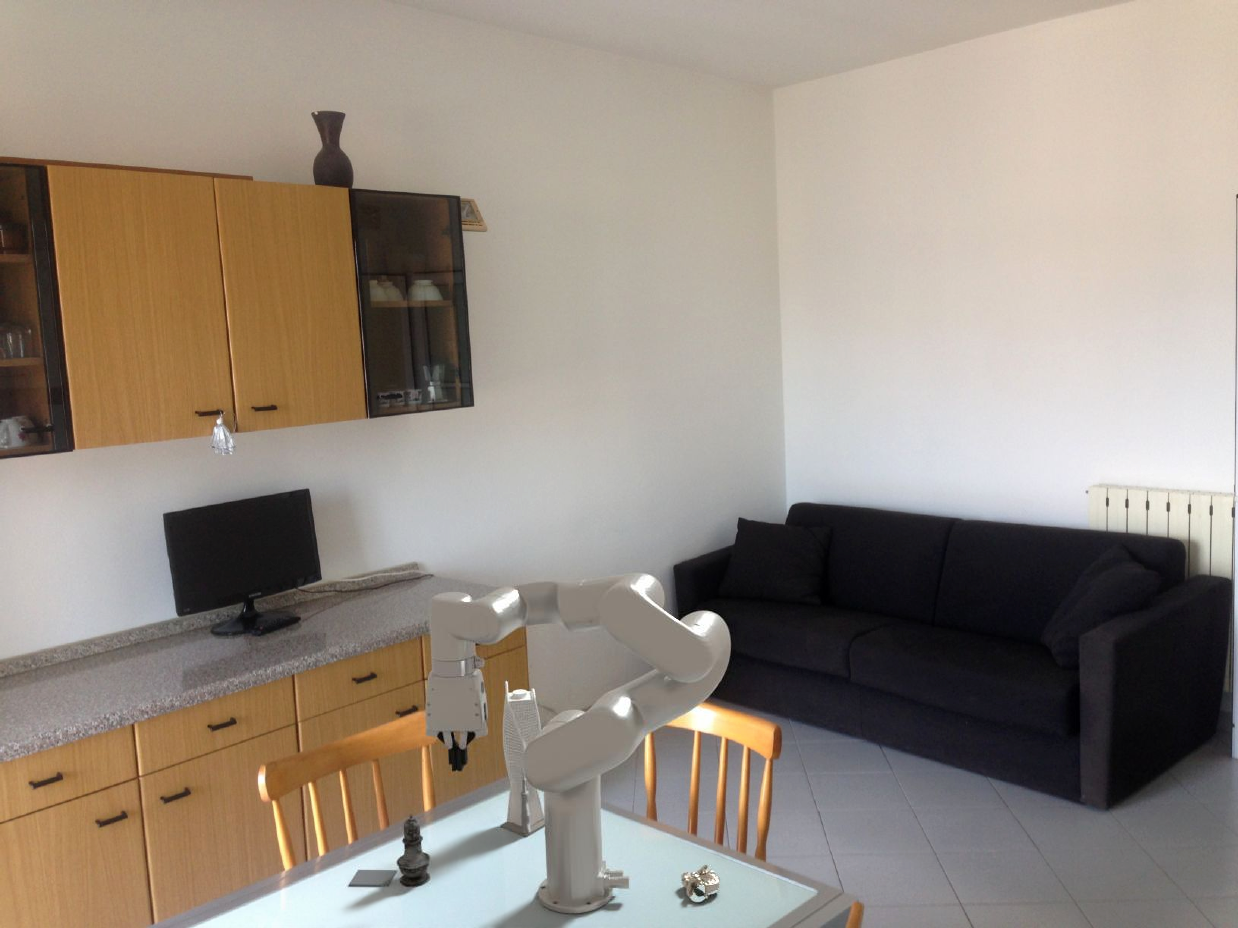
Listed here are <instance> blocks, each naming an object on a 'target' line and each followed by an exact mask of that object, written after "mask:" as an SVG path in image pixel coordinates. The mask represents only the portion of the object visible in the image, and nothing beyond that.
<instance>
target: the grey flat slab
mask: <svg viewBox="0 0 1238 928" xmlns="http://www.w3.org/2000/svg"><path fill="white" fill-rule="evenodd" d="M397 870H398V869H357V871H355V874H354V875H353V877H352V879H351V881H350V882H349V883H348V887H389V886H390V884H391V882H392V881H393V879H394V877H395V875H396V873H397Z"/></svg>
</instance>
